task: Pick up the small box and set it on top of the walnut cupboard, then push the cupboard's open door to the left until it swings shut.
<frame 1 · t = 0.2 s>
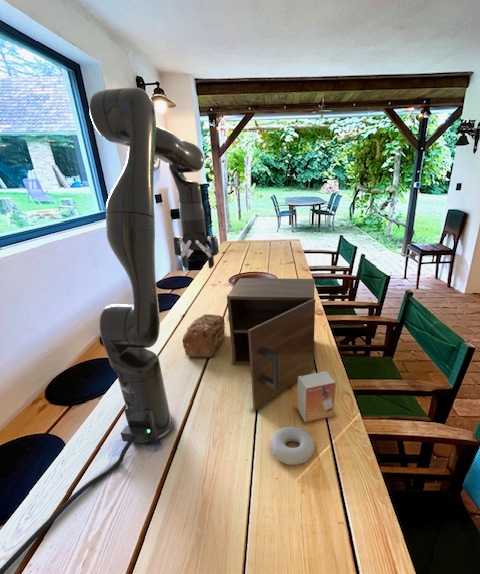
hand: (198, 267, 108), 29 cm above the table, tool pointing down, fingers open, 8 cm apart
small box: (315, 413, 84), on the table
cupboard door: (293, 355, 87), point 12 cm above the table, hinge at 55.0°
cupboard: (275, 352, 113), on the table
donut: (292, 450, 73), on the table
bread: (206, 345, 119), on the table
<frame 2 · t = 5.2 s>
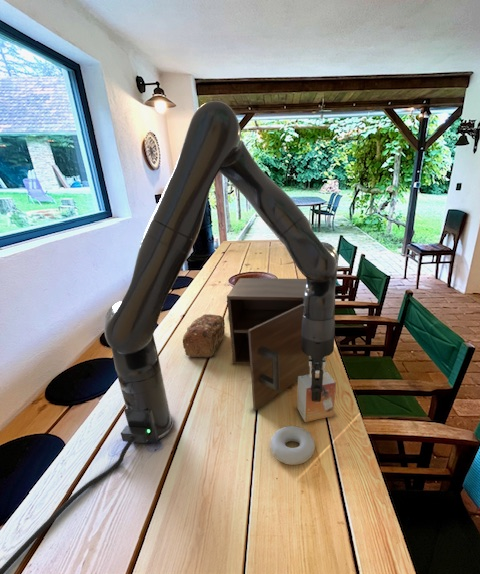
hand: (316, 390, 81), 7 cm above the table, tool pointing down, fingers closed on small box, 7 cm apart
small box: (315, 413, 84), on the table, touching gripper
everything else where it was.
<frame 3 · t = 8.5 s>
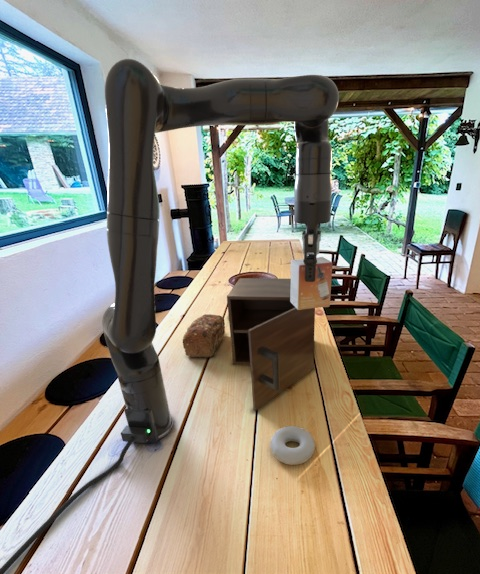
hand: (310, 276, 73), 36 cm above the table, tool pointing down, fingers closed on small box, 7 cm apart
small box: (309, 305, 76), point 28 cm above the table, touching gripper
everything else where it was.
when the fingers open (31 cm above the table, at t = 12.2 s): small box stays where it is, resting on cupboard.
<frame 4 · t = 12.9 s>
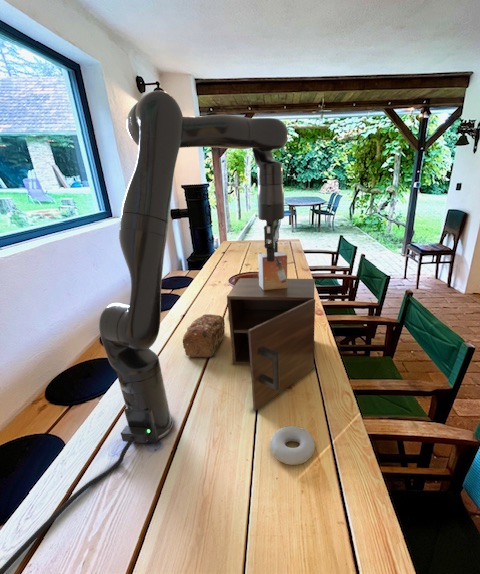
hand: (272, 257, 99), 33 cm above the table, tool pointing down, fingers open, 8 cm apart
small box: (273, 287, 103), point 24 cm above the table, touching cupboard
everything else where it was.
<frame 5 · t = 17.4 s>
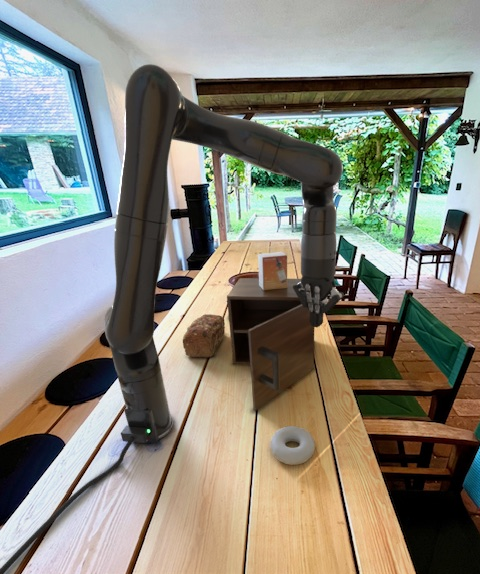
hand: (316, 325, 77), 24 cm above the table, tool pointing down, fingers closed
nothing on the table moved.
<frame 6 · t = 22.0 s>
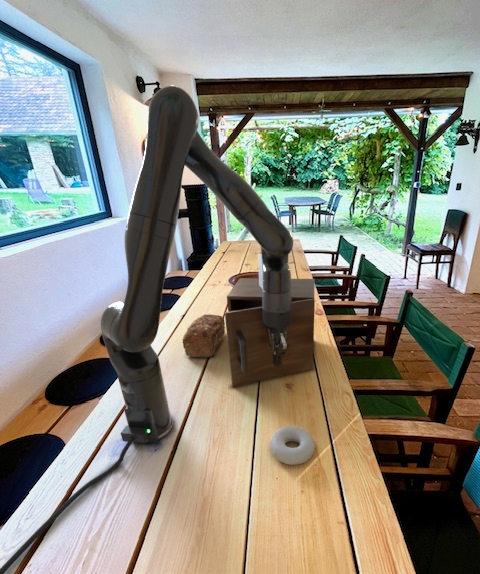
hand: (277, 364, 89), 9 cm above the table, tool pointing down, fingers closed
cupboard door: (275, 347, 91), point 12 cm above the table, hinge at 26.1°, touching hand
everything else where it was.
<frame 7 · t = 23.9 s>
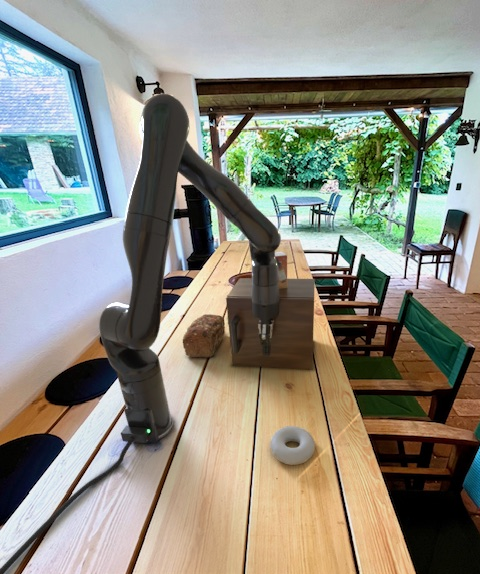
hand: (266, 354, 94), 9 cm above the table, tool pointing down, fingers closed
cupboard door: (269, 338, 96), point 12 cm above the table, hinge at -0.1°, touching hand
everything else where it was.
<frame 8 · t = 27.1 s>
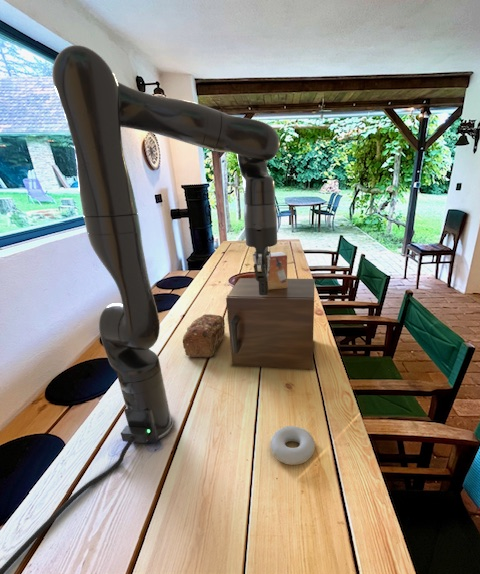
hand: (263, 294, 82), 29 cm above the table, tool pointing down, fingers closed
cupboard door: (269, 338, 96), point 12 cm above the table, hinge at -0.1°
everything else where it was.
at the end: small box inside the target area on the cupboard (0.0 cm from its centre), point 23.8 cm above the cupboard's base; cupboard door at +0° (first picture: +55°) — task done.
